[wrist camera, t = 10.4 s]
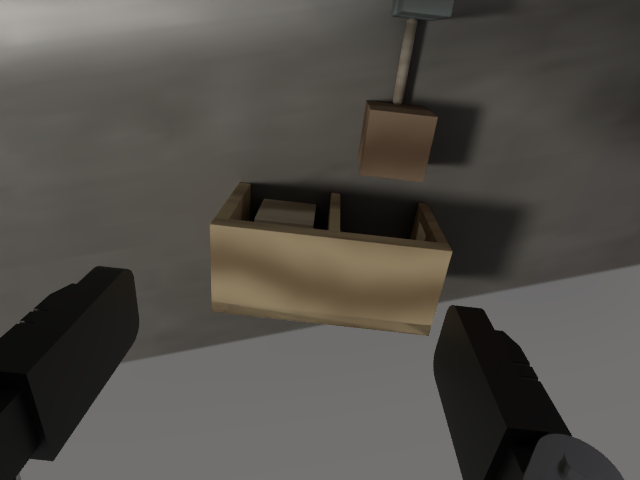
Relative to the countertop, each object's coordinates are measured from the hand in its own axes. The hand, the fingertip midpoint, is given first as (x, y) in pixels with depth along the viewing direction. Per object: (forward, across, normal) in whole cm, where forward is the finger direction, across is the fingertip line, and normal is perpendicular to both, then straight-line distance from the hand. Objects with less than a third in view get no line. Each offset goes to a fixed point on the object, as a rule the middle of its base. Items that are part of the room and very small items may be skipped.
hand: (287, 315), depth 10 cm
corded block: (+26, -6, -4) cm, 27 cm away
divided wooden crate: (+26, -1, +9) cm, 28 cm away
